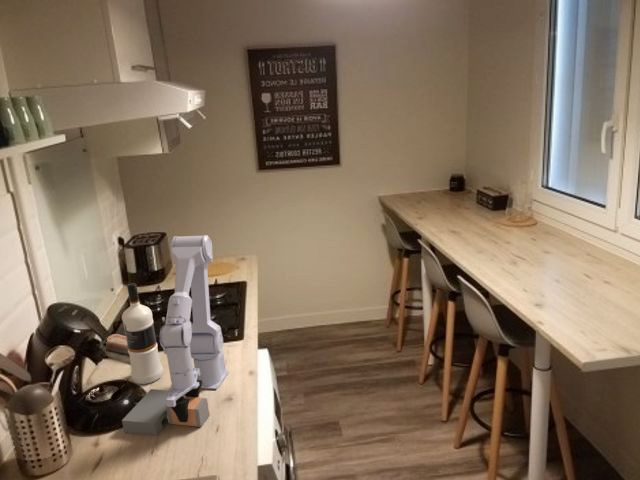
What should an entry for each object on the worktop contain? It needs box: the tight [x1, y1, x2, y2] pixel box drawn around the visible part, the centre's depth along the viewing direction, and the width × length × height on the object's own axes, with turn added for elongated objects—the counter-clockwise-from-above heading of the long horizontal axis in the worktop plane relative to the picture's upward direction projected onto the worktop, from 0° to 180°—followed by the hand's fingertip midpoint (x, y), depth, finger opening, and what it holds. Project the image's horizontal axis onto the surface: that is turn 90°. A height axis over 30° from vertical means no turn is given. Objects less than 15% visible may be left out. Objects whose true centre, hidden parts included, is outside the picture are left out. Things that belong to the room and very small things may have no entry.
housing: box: [166, 395, 210, 428], centre depth 135 cm, size 9×5×5 cm, turn 77°
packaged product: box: [106, 333, 131, 364], centre depth 173 cm, size 18×5×10 cm
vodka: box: [121, 282, 164, 385], centre depth 153 cm, size 9×9×30 cm
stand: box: [121, 388, 170, 436], centre depth 137 cm, size 14×9×4 cm, turn 167°
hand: (188, 414), depth 135 cm, fingers closed on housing, 5 cm apart
